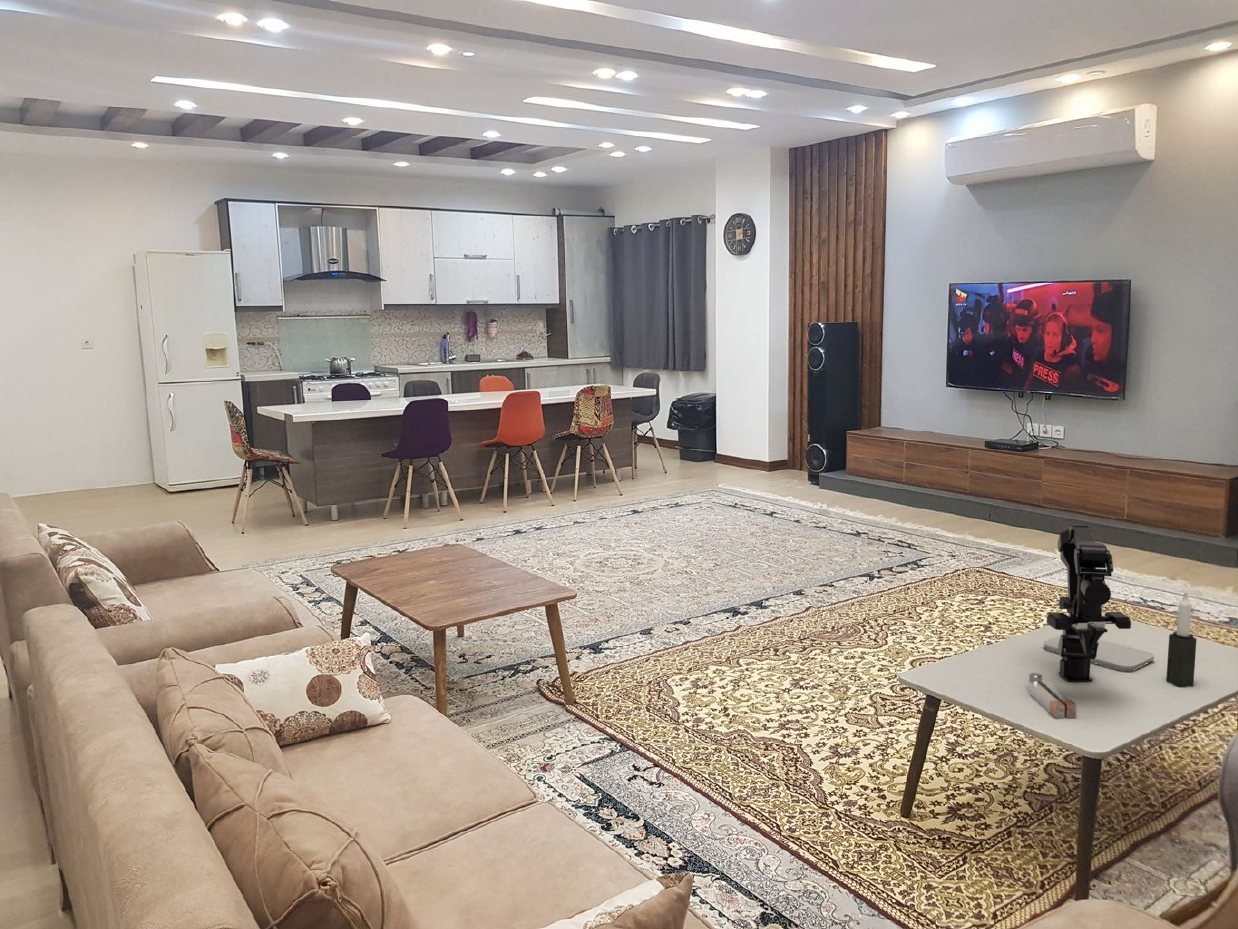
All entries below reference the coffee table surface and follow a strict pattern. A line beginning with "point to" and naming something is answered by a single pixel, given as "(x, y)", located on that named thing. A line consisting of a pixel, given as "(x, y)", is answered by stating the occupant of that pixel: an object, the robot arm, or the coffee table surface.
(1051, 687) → the tongs arm
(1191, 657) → the candle
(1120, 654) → the tablet
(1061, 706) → the base
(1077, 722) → the coffee table surface
